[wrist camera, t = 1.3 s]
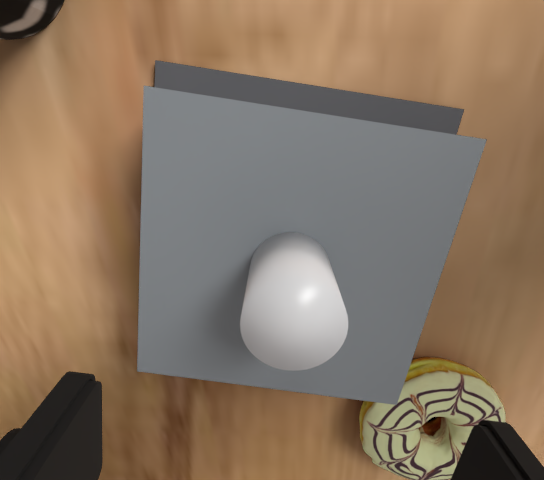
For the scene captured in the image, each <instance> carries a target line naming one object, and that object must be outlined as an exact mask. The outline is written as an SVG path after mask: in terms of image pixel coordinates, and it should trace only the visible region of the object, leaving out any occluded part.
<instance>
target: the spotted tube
mask: <svg viewBox="0 0 544 480" xmlns="http://www.w3.org/2000/svg"><path fill="white" fill-rule="evenodd" d="M63 2H64V0H0V39H6V40H12V39H22V38H25V37H28V36H31V35H34V34H36V33H37V32H39V31H41V30H42V29H44V28H45V27H46V26H47V25H48V24H49V23H50V22H51V21H52V20H53V19H54V18H55V17H56V15H57V13H58V12H59V10H60V8H61V6H62V5H63Z"/></svg>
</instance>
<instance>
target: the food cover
mask: <svg viewBox="0 0 544 480" xmlns="http://www.w3.org/2000/svg"><path fill="white" fill-rule="evenodd" d="M486 140H487V139H480V138H474V137H467V136H461V135H455V134H448V133H442V132H436V131H429V130H423V129H416V128H410V127H404V126H397V125H391V124H385V123H378V122H372V121H366V120H359V119H353V118H346V117H340V116H334V115H327V114H321V113H315V112H308V111H302V110H296V109H289V108H283V107H276V106H270V105H264V104H257V103H251V102H245V101H238V100H232V99H226V98H219V97H213V96H206V95H200V94H194V93H187V92H181V91H175V90H168V89H162V88H156V87H149V86H144V100H143V143H142V186H141V229H140V271H139V314H138V357H137V371H139V372H146V373H154V374H162V375H170V376H177V377H185V378H193V379H200V380H208V381H216V382H223V383H231V384H239V385H246V386H254V387H262V388H270V389H277V390H285V391H293V392H300V393H308V394H316V395H323V396H331V397H339V398H347V399H354V400H362V401H370V402H377V403H385V404H393V405H397V403H398V400H399V397H400V394H401V391H402V388H403V385H404V382H405V379H406V376H407V373H408V370H409V367H410V364H411V361H412V358H413V355H414V353H415V350H416V347H417V344H418V341H419V338H420V335H421V332H422V329H423V326H424V323H425V320H426V317H427V314H428V311H429V308H430V305H431V302H432V300H433V297H434V294H435V291H436V288H437V285H438V282H439V279H440V276H441V273H442V270H443V267H444V264H445V261H446V258H447V255H448V252H449V249H450V246H451V244H452V241H453V238H454V235H455V232H456V229H457V226H458V223H459V220H460V217H461V214H462V211H463V208H464V205H465V202H466V199H467V196H468V193H469V191H470V188H471V185H472V182H473V179H474V176H475V173H476V170H477V167H478V164H479V161H480V158H481V155H482V152H483V149H484V146H485V143H486Z"/></svg>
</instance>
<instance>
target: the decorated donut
mask: <svg viewBox="0 0 544 480" xmlns="http://www.w3.org/2000/svg"><path fill="white" fill-rule="evenodd" d="M432 417H437V418H436V419H434V420H433V421H431V422H428V423H426V422H427V421H428V420H429V419H430V418H432ZM482 420H489V421H497V422H505V421H506V420H505V411H504V407H503V405H502V403H501V401H500V400H499V398H498V396H497V394H496V393H495V391H494V389H493V388H492V387H491V385H490V384H489V383H488V381H486V380H485V378H484V377H482V376H481V375H480V374H478V373H477V372H476V371H474V370H472V369H470V368H468V367H467V366H465V365H462V364H460V363H457V362H454V361H451V360H446V359H442V358H430V357H423V358H419V359H414V360H412V361H411V364H410V367H409V370H408V373H407V376H406V379H405V382H404V385H403V388H402V391H401V394H400V397H399V400H398V403H397V405H393V404H385V403H377V402H370V401H363V404H362V407H361V410H360V415H359V423H360V439H361V442H362V447H363V450H364V451H365V453H366V454H367V455H369V456H370V457H371V458H372V462H373V463H374V464H376V465H377V466H379V467H381V468H383V469H385V470H388V471H390V472H392V473H394V474H396V475H398V476H401V477H404V478H408V479H412V480H448V479H451V477H452V475H453V473H454V470H455V468H456V466H457V463H458V461H459V459H460V456H461V454H462V451H463V449H464V447H465V444H466V442H467V440H468V437H469V435H470V433H471V430H472V428H473V427H474V426H475V425H478V423H479V422H480V421H482Z"/></svg>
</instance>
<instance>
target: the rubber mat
mask: <svg viewBox="0 0 544 480" xmlns="http://www.w3.org/2000/svg"><path fill="white" fill-rule="evenodd" d="M155 87H156V88H162V89H168V90H175V91H181V92H187V93H194V94H200V95H206V96H213V97H219V98H226V99H232V100H238V101H245V102H251V103H257V104H264V105H270V106H276V107H283V108H289V109H296V110H302V111H308V112H315V113H321V114H327V115H334V116H340V117H346V118H353V119H359V120H366V121H372V122H378V123H385V124H391V125H397V126H404V127H410V128H416V129H423V130H429V131H436V132H442V133H448V134H455V135H456V134H457V131H458V128H459V125H460V121H461V118H462V115H463V112H464V109H457V108H451V107H445V106H439V105H432V104H426V103H420V102H413V101H407V100H401V99H395V98H388V97H382V96H376V95H370V94H363V93H357V92H351V91H345V90H338V89H332V88H326V87H320V86H313V85H307V84H301V83H295V82H288V81H282V80H276V79H269V78H263V77H257V76H251V75H244V74H238V73H232V72H226V71H219V70H213V69H207V68H201V67H194V66H188V65H182V64H176V63H169V62H163V61H157V60H155Z"/></svg>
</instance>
